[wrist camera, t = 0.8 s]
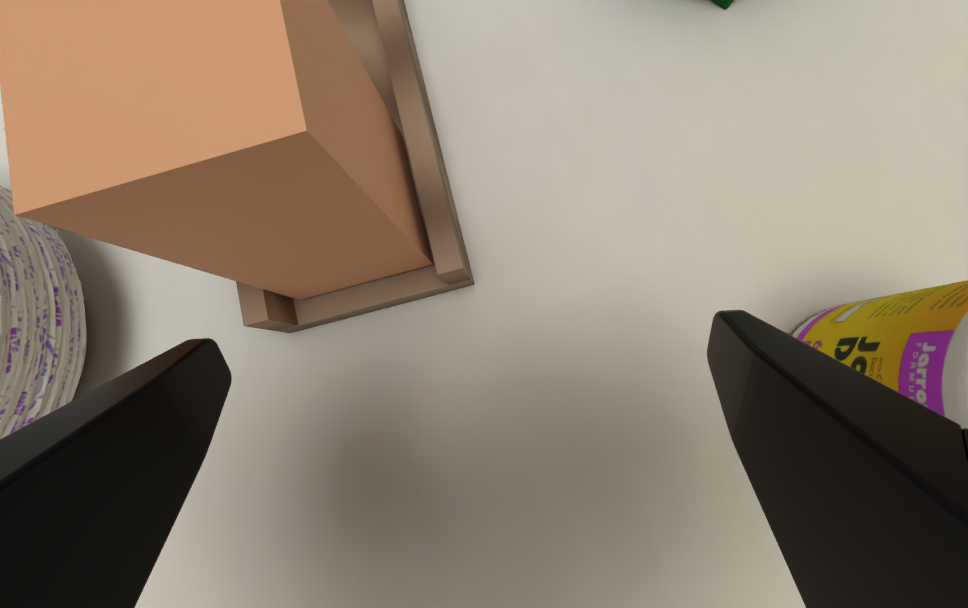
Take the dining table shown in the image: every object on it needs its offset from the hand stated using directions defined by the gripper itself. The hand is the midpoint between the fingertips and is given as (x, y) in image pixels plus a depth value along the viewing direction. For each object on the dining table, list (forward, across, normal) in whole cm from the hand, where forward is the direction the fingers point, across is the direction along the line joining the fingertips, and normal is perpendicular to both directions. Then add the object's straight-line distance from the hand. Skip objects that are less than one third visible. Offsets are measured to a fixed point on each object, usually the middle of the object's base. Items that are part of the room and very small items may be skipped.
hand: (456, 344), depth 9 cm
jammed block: (+13, +6, +3) cm, 15 cm away
